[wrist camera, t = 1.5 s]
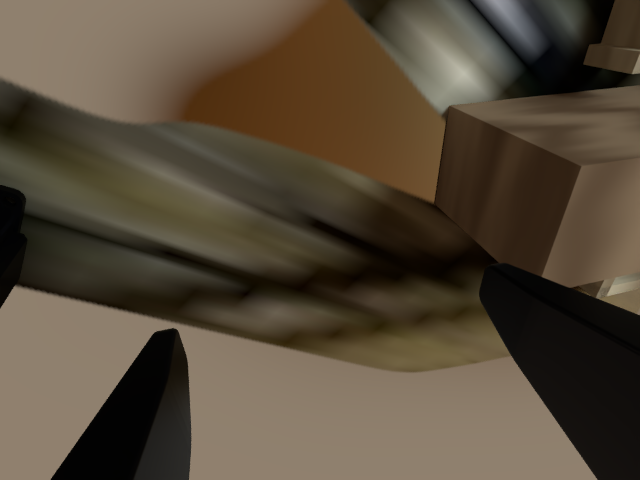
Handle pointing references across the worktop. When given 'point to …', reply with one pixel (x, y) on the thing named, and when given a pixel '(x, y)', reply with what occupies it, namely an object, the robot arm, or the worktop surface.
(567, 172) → the walnut block
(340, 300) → the worktop surface
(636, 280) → the rail channel
